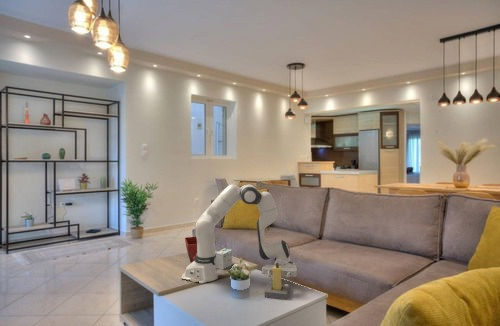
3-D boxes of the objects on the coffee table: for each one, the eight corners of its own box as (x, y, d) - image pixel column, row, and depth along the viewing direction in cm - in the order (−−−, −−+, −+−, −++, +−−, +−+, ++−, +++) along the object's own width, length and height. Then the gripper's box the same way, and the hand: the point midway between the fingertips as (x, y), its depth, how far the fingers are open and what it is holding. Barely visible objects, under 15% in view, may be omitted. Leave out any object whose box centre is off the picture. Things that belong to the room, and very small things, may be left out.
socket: (264, 297, 170) (264, 290, 170) (268, 287, 182) (268, 281, 182) (286, 299, 167) (287, 292, 167) (289, 289, 179) (289, 283, 179)
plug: (272, 293, 173) (272, 264, 173) (273, 290, 177) (273, 261, 176) (280, 294, 172) (280, 264, 172) (281, 291, 176) (281, 262, 175)
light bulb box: (224, 263, 221) (224, 247, 221) (232, 265, 218) (232, 249, 217) (215, 268, 212) (215, 252, 212) (223, 270, 209) (223, 253, 208)
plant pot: (184, 260, 227) (184, 237, 227) (211, 257, 233) (211, 234, 232) (187, 269, 209) (187, 244, 208) (216, 266, 215) (216, 242, 214)
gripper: (263, 260, 192) (259, 268, 178) (298, 263, 187) (296, 272, 174) (264, 270, 192) (259, 279, 179) (298, 273, 187) (296, 283, 174)
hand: (277, 276), depth 176 cm, fingers open, 8 cm apart
